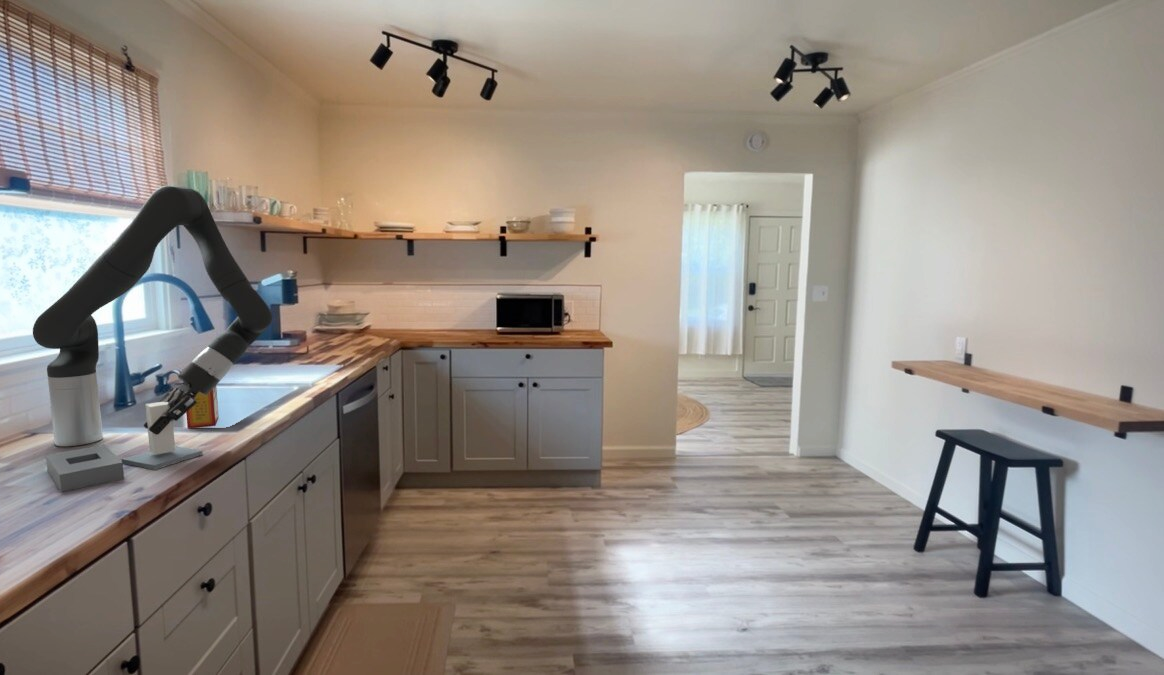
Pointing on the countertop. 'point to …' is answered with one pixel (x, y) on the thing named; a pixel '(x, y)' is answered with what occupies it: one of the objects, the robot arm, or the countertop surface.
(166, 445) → the tall cream white pillar
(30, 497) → the countertop surface
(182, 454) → the mat
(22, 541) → the countertop surface
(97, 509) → the countertop surface
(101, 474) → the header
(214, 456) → the countertop surface
